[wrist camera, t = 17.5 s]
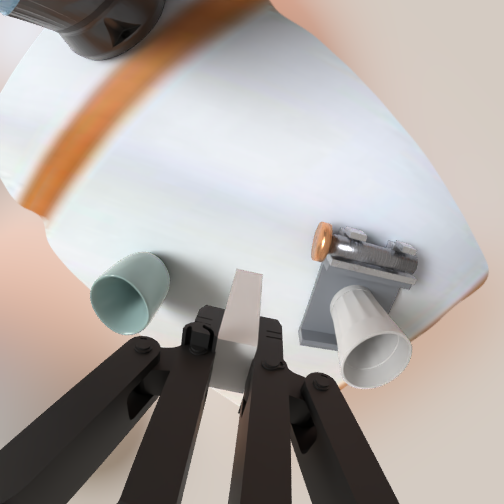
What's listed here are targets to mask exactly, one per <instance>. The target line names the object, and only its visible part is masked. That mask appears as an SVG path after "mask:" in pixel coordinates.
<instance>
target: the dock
mask: <svg viewBox="0 0 504 504" xmlns="http://www.w3.org/2000/svg"><path fill="white" fill-rule="evenodd" d="M351 285H361V286H364V287H366V288H367V289H369V290H370V291H371V293H372V294H373V296H374V298H375V299H376V300H377V302H378V303H379V304H380V305H381V306H382V308H383V309H384V310H385V311H386V313H387V314H389V312H390V309H391V307H392V305H393V303H394V301H395V298H396V296H397V294H398V291H399V289H400V288H404V289H409V290H410V288H411V285H412V284H407V283H403V282H399V281H395V280H390V279H386V278H382V277H377V276H373V275H369V274H364V273H360V272H356V271H351V270H347V269H343V268H338V267H334V266H330V264H329V262H328V260H327V258H325V260H324V261H323V262H322V263H321V266H320V270H319V273H318V276H317V279H316V282H315V285H314V288H313V291H312V294H311V297H310V300H309V303H308V305H307V308H306V311H305V314H304V317H303V320H302V322H301V325H300V328H299V331H298V332H299V340H300V345H303V346H309V347H315V348H322V349H328V350H335V351H338V345H337V339H336V334H335V328H334V322H333V319H332V316H331V313H330V304H331V301H332V299H333V297H334V296H335V295H336V293H337V292H339V291H340V290H341V289H343V288H345V287H347V286H351Z"/></svg>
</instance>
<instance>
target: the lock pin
mask: <svg viewBox="0 0 504 504" xmlns="http://www.w3.org/2000/svg"><path fill="white" fill-rule="evenodd" d="M327 254H328V255H332V256H337V257H341V258H345V259H349V260H353V261H357V262H362V263H366V264H370V265H374V266H378V267H382V268H386V269H390V270H394V271H398V272H402V273H406V274H410V275H411V274H413V273H414V272H415V270H416V268H417V263H418V261H417V257H416V256H414V255H410V254H407V253H403V252H400V251H396V250H392V249H389V248H385V247H382V246H378V245H374V244H370V243H367V242H363V241H359V240H355V239H352V238H348V237H344V236H340V235H336V234H332V225H331V224H329V223H325V222H320V223H319V225H318V227H317V229H316V232H315V235H314V239H313V244H312V251H311V257H312V260H315V261H319V262H323V261H324V260H325V258H326V256H327Z"/></svg>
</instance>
